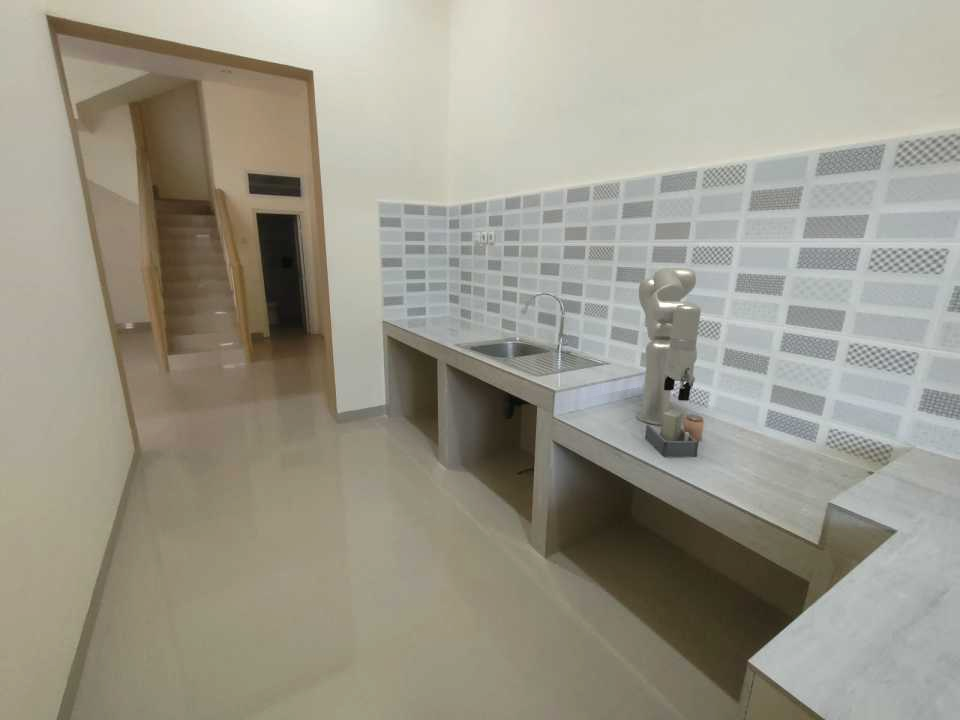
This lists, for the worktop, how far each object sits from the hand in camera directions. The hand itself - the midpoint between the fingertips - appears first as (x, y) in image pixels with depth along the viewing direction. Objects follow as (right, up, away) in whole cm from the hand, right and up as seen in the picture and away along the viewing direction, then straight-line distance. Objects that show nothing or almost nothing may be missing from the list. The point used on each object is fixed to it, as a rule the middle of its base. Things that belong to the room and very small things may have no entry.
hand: (675, 395), depth 136 cm
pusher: (0, -19, 0) cm, 19 cm away
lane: (0, -18, +4) cm, 18 cm away
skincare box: (0, -18, +4) cm, 18 cm away
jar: (+11, -16, +11) cm, 22 cm away
